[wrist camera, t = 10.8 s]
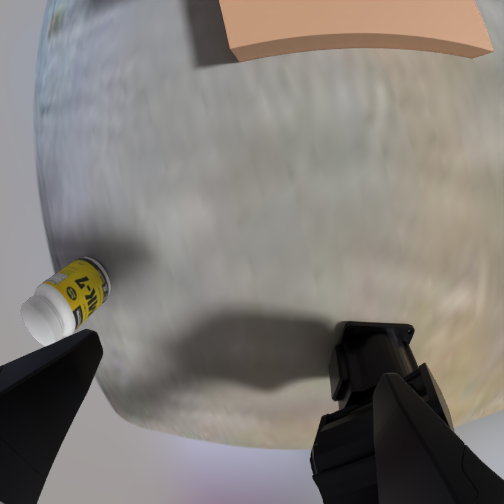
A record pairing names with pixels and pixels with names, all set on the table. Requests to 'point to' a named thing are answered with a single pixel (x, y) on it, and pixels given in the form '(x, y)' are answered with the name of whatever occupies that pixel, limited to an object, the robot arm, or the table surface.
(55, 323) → the supplement bottle
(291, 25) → the plate
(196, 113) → the table surface
